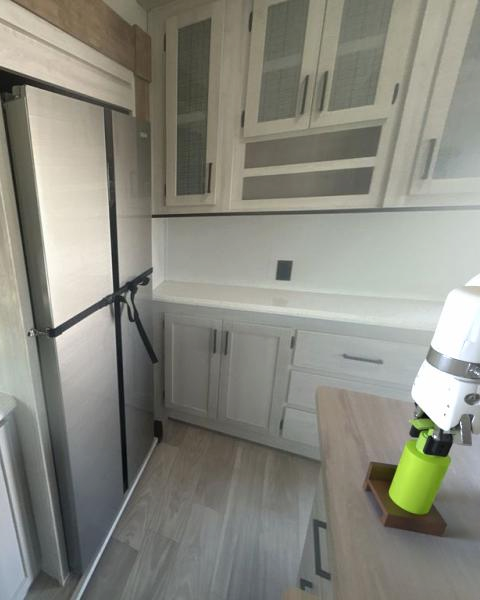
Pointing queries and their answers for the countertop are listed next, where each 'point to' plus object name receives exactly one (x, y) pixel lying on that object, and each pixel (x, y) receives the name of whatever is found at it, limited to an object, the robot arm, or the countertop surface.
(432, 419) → the robot arm
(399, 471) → the soap dispenser
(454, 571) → the countertop surface
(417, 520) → the walnut shelf
